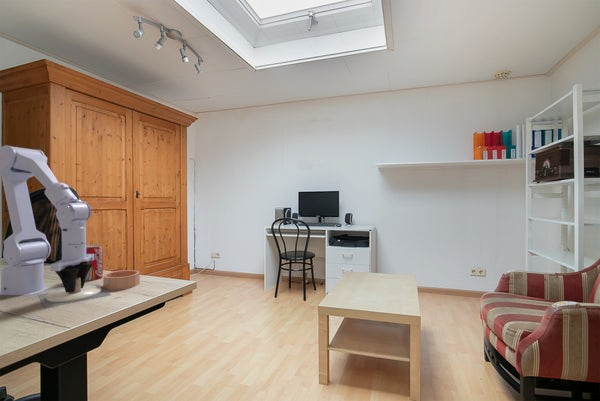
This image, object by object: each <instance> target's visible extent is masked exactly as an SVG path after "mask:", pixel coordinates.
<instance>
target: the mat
mask: <svg viewBox="0 0 600 401" xmlns="http://www.w3.org/2000/svg"><path fill="white" fill-rule="evenodd" d="M91 286H99V287H101V293H99V294H98V295H96V296H93V297H90V298H87V299H83V300H78V301H72V302H61V303H54V302H48V301H46V295H48V294H49V293H50V292H46V293H41V294H38V297H39V300H40V302H41V304H42V306H43V309H49V308H54V307H58V306H64V305H69V304H73V303H74V304H75V303H78V302H83V301H88V300H94V299H98V298H103V297H104V298H105V297H108V296H112V294H111V293H109V291H107V289H103V287H102V286H101V285H100V284H99V283H97V284H92V285H91Z"/></svg>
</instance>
